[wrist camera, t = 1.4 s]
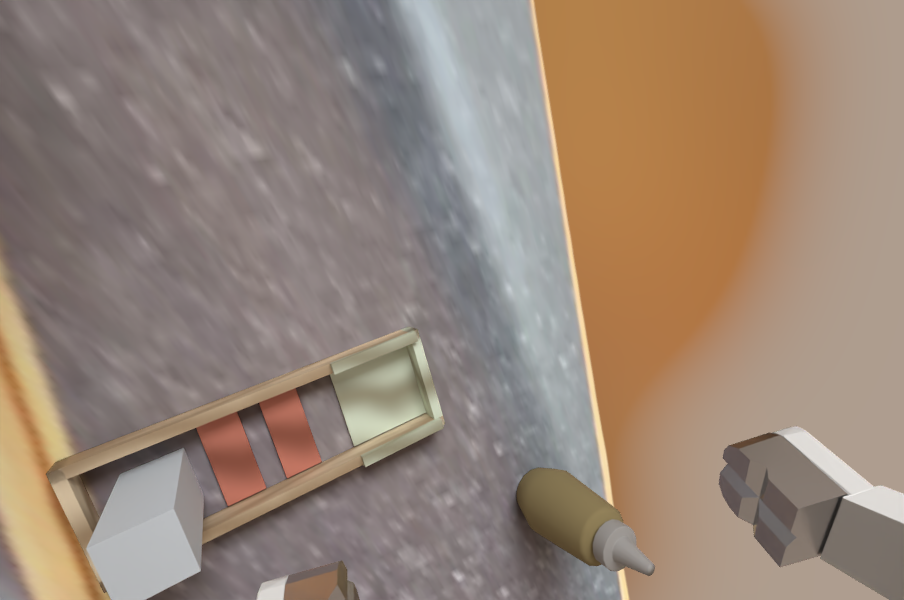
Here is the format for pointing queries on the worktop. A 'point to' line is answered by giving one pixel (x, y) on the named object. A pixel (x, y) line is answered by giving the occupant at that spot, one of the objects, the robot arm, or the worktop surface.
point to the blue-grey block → (150, 529)
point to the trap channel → (282, 433)
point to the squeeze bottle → (579, 521)
